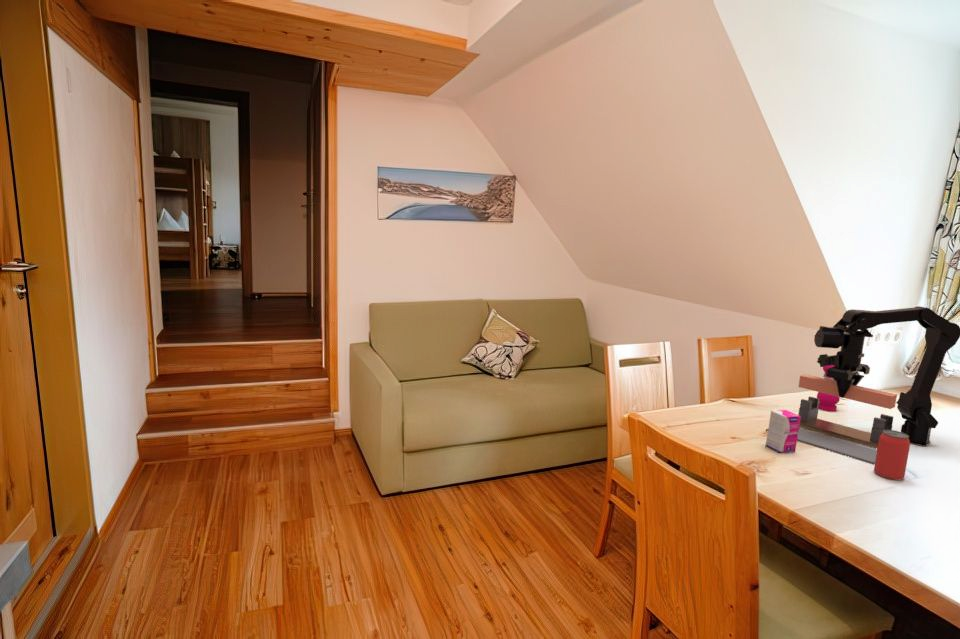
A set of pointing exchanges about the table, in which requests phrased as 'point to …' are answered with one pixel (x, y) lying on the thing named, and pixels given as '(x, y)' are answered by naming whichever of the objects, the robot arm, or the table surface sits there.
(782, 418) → the supplement box
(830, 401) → the pepper mill
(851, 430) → the rail rack
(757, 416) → the table surface
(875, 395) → the rail
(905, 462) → the beer can
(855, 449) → the slate mat
